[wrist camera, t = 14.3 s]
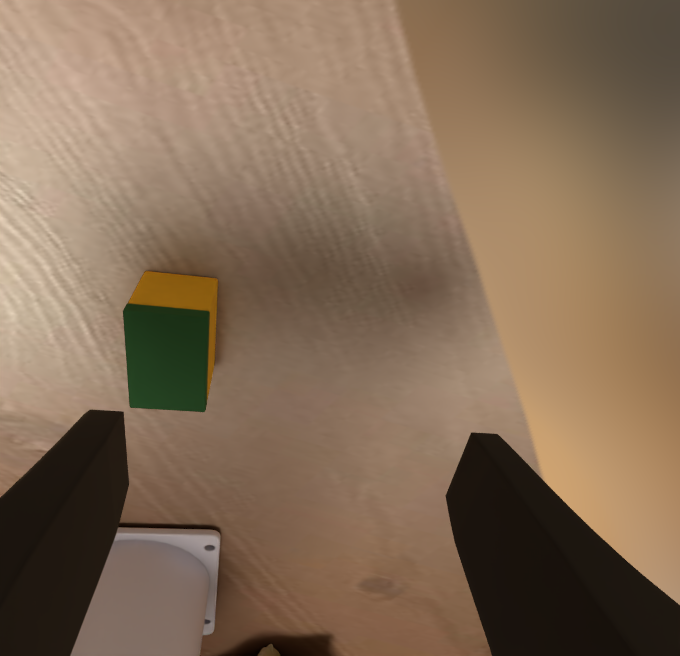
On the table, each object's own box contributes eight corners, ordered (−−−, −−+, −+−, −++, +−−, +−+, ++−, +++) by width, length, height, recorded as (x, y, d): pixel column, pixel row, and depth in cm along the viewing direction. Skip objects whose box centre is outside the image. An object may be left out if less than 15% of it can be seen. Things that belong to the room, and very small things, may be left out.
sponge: (214, 364, 21) (205, 412, 18) (148, 359, 20) (129, 408, 18) (218, 277, 18) (208, 317, 16) (144, 269, 18) (122, 310, 16)
